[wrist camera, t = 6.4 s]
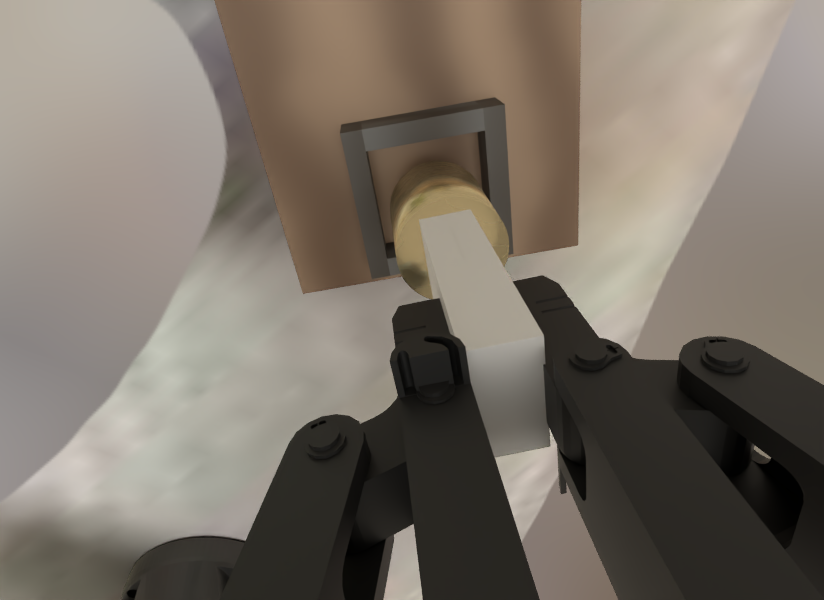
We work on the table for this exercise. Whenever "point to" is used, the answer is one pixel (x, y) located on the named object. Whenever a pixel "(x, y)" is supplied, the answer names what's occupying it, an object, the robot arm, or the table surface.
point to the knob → (433, 196)
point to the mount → (408, 117)
